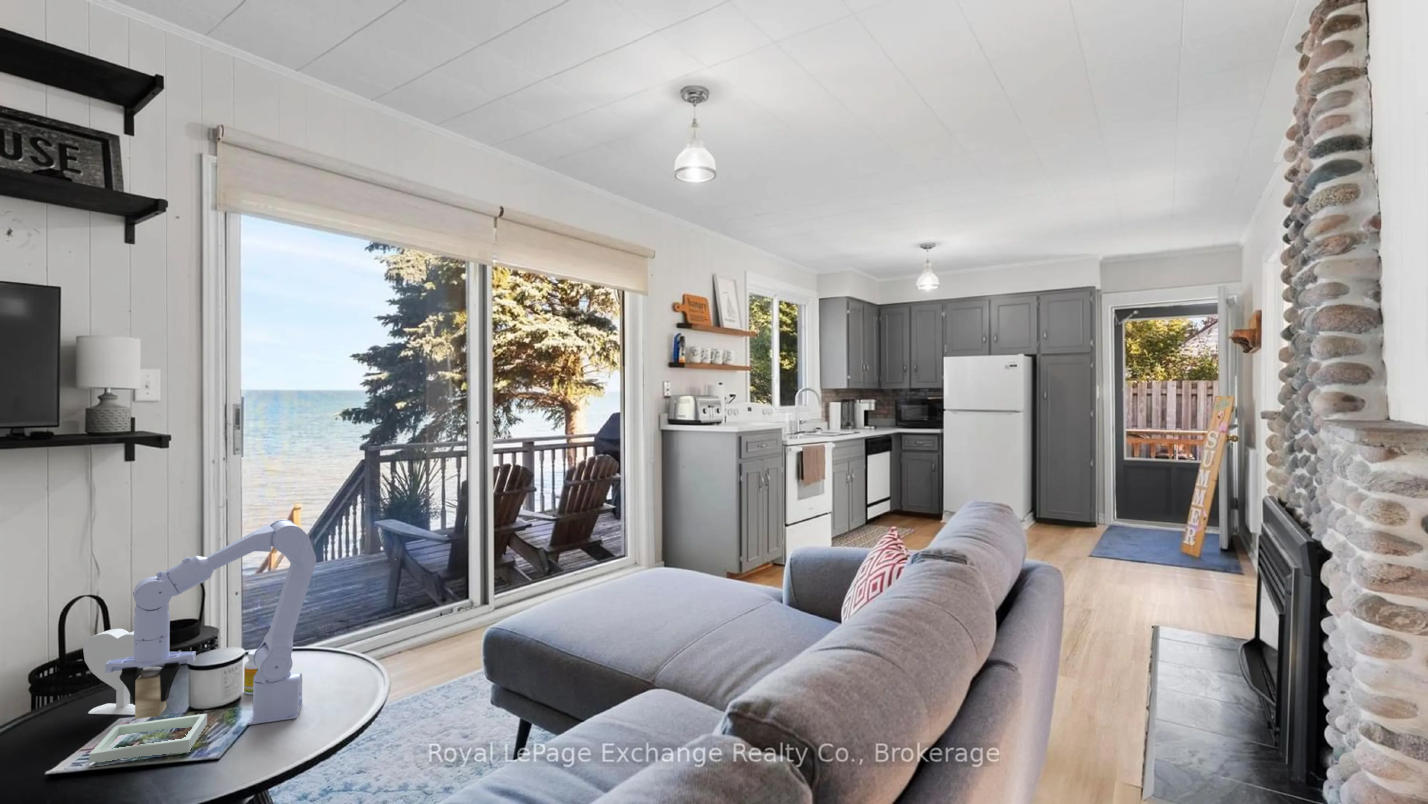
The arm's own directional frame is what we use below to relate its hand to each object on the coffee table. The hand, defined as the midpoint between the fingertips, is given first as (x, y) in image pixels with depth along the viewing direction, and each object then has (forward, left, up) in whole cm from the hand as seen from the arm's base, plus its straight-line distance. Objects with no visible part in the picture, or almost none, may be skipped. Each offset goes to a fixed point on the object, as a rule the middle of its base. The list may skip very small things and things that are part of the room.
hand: (151, 701), depth 140 cm
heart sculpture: (+12, -22, -10) cm, 27 cm away
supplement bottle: (-14, -23, -10) cm, 29 cm away
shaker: (0, 0, -2) cm, 2 cm away
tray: (0, 0, -9) cm, 9 cm away
